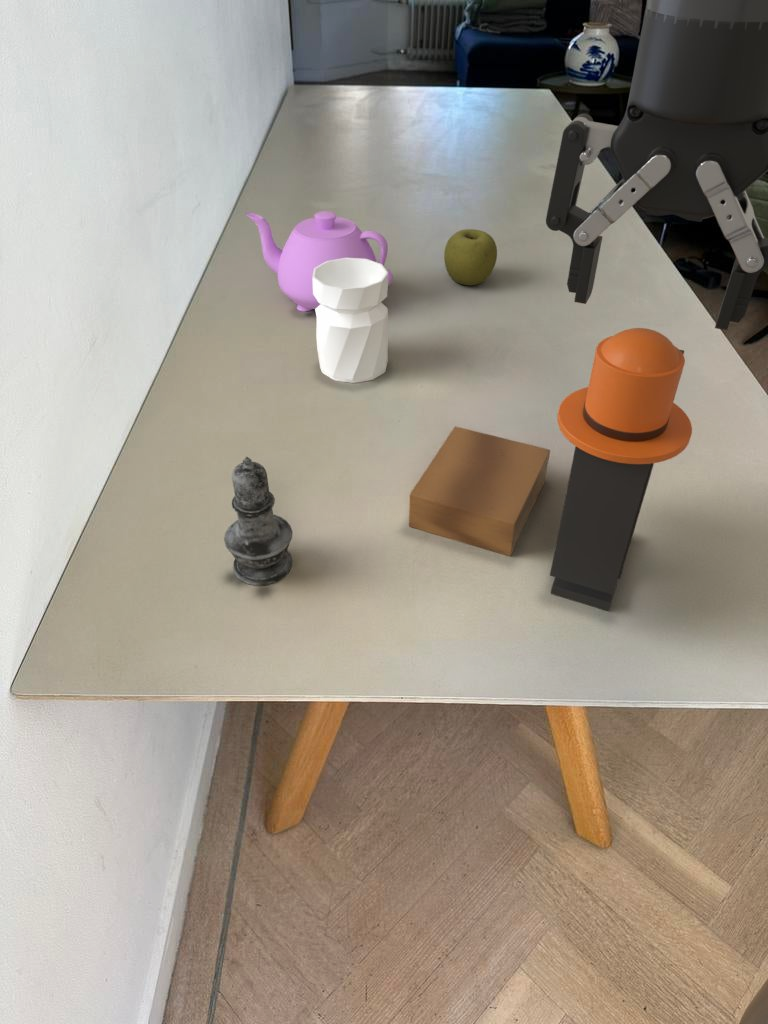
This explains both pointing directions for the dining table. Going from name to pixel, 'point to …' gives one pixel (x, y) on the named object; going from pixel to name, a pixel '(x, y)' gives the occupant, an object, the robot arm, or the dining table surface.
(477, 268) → the apple
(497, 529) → the stand
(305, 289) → the teapot
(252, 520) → the chess piece
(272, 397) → the dining table surface
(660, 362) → the hat
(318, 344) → the vase
